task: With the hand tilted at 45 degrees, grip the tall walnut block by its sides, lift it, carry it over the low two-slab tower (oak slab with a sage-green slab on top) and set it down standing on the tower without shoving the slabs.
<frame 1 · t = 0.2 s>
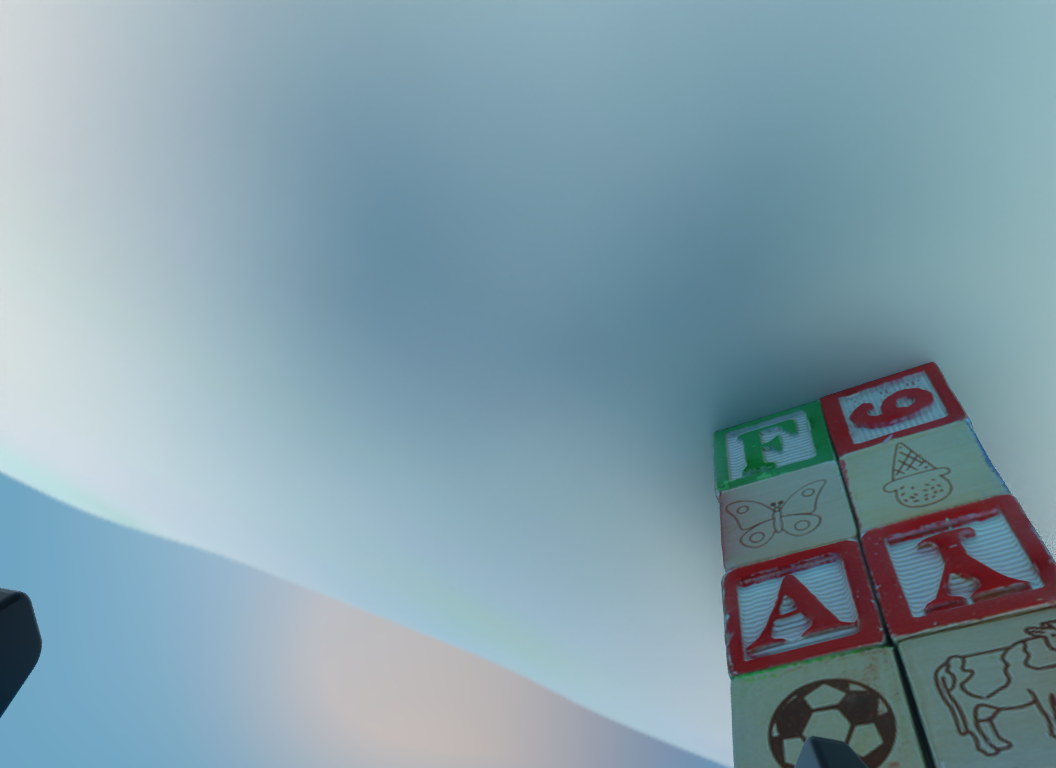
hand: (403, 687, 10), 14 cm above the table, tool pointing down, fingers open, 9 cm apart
stack of blocks: (915, 656, 27), on the table
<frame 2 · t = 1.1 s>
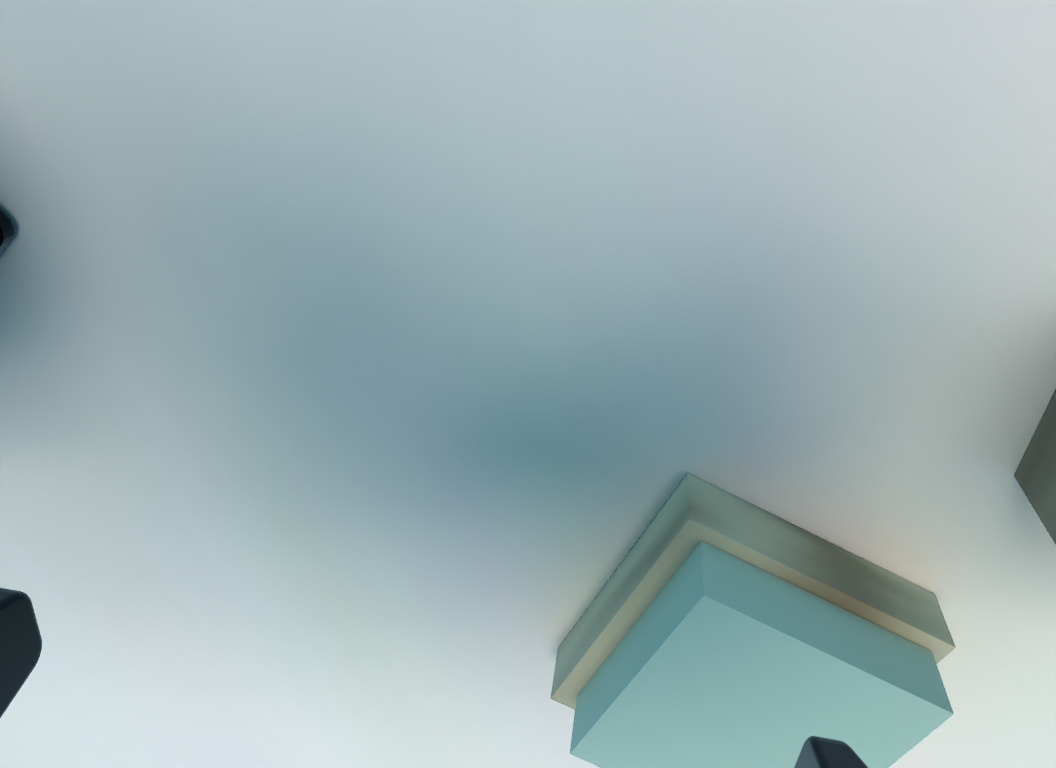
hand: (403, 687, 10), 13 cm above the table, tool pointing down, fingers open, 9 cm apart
green slab: (743, 674, 24), point 2 cm above the table
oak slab: (733, 610, 26), on the table
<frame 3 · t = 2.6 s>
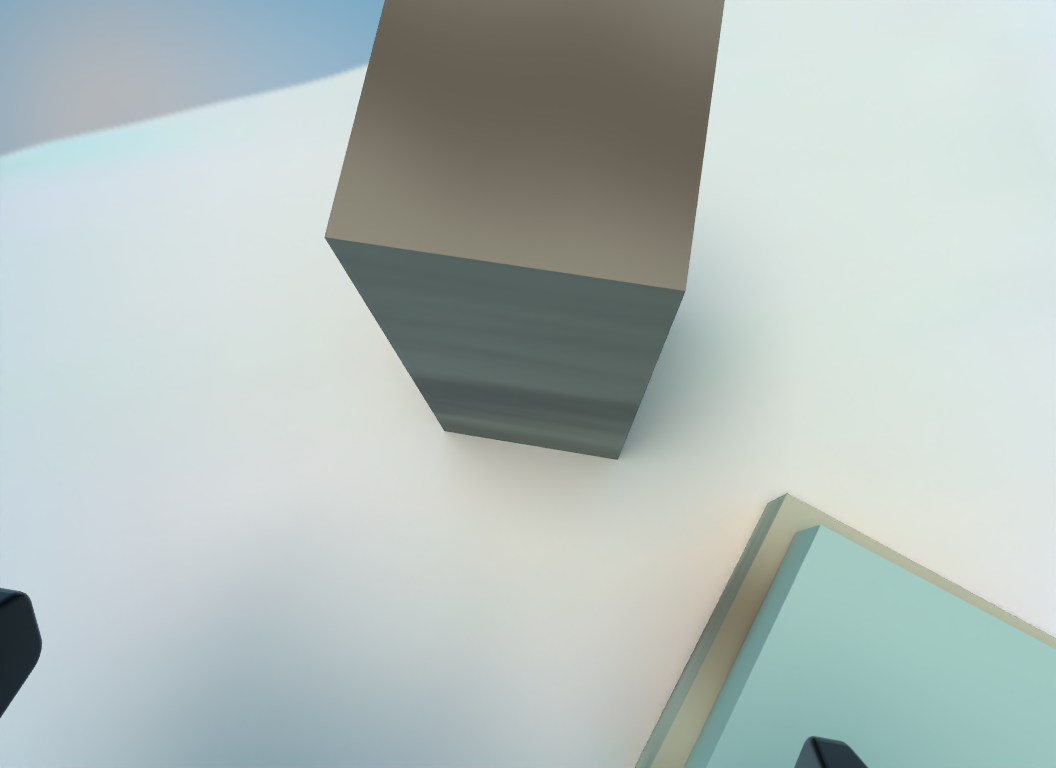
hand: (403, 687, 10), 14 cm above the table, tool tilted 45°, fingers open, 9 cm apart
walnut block: (544, 361, 25), on the table
green slab: (870, 736, 20), point 2 cm above the table
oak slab: (834, 711, 22), on the table
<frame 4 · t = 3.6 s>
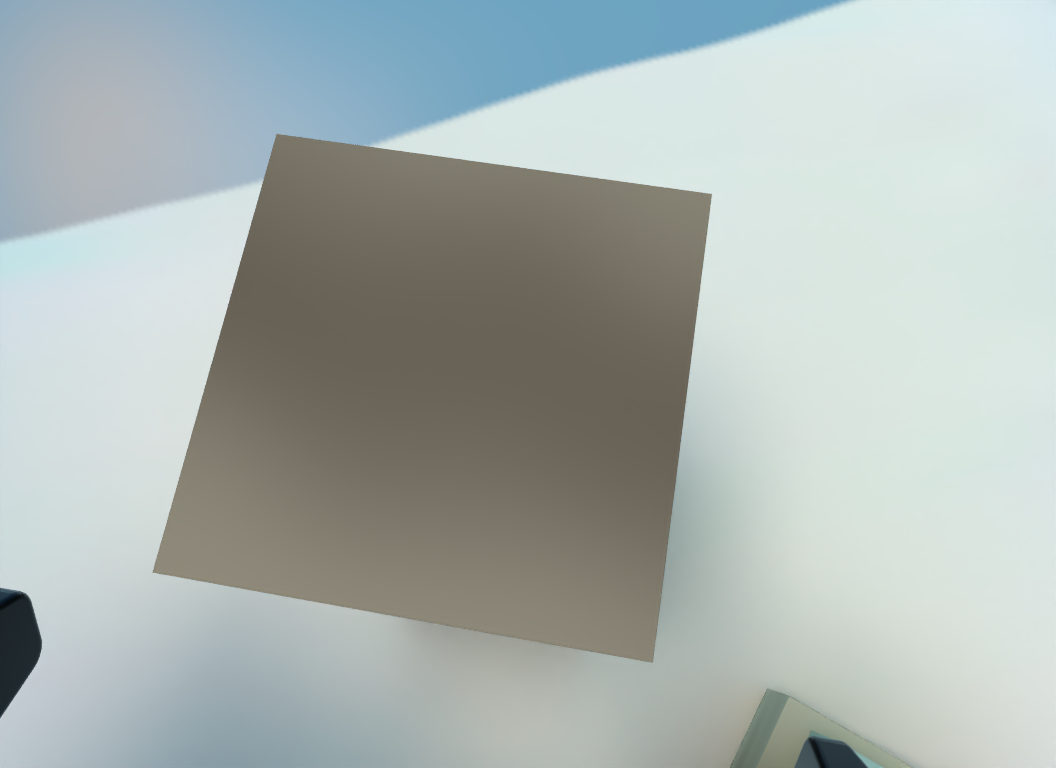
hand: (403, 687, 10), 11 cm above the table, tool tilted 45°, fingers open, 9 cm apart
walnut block: (510, 518, 21), on the table
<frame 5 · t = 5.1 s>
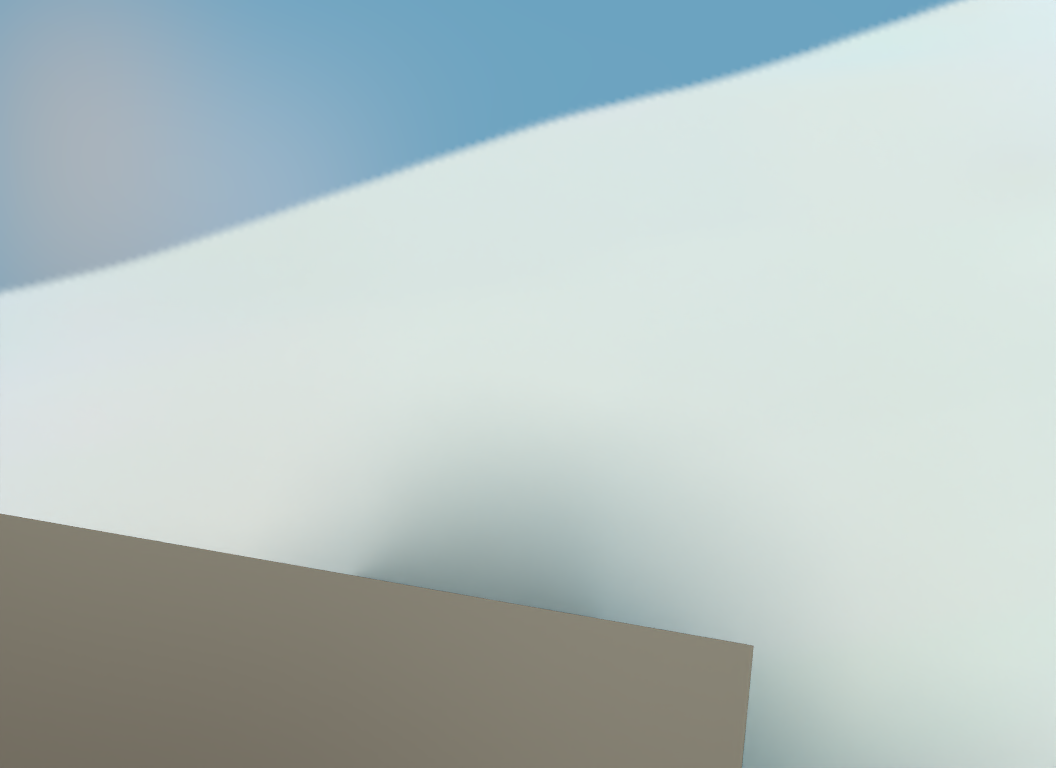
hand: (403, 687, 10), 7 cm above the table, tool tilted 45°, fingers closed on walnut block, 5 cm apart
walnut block: (449, 737, 16), on the table, touching gripper
when the fingers open (12 cm above the table, at t = 8.3 s): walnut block moves 1 cm, resting on green slab.
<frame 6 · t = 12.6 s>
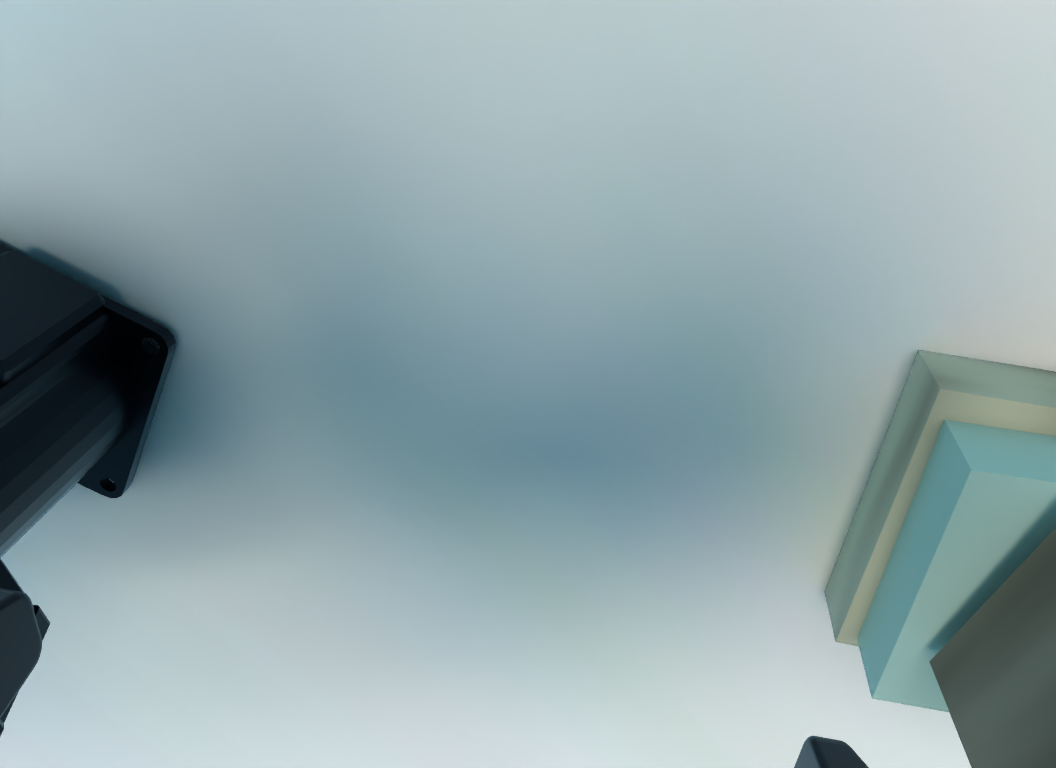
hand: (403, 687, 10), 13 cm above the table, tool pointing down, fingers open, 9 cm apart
green slab: (1043, 561, 21), point 2 cm above the table, touching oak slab, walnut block
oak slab: (1013, 495, 23), on the table, touching green slab
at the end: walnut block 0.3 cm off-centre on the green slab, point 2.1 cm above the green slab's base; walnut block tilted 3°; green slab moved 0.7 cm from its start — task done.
